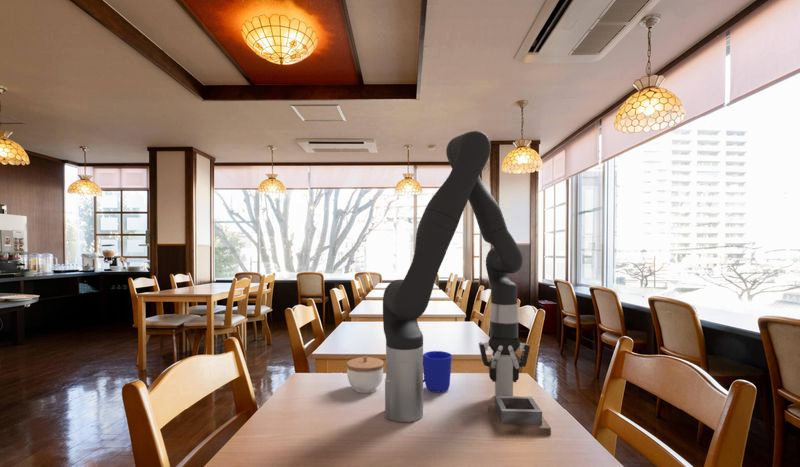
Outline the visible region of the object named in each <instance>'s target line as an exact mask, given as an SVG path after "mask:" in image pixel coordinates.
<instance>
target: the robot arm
mask: <svg viewBox="0 0 800 467" xmlns="http://www.w3.org/2000/svg"><path fill="white" fill-rule="evenodd" d="M491 148H492V145H491V141H490V139H489V137H488V135H487V134H486V133H485V132H483V131H481V130H471V131H467V132H465V133H462V134H460V135H457V136H455V137H453V138H452V139H450V141H449V142H448V143H447V146H446V149H445V150H446V154H445V155H446V158H447V161H448V163H449V165H450V167H451V171H450V173H449V175H448V176H447V178H446V179H445V181H444V182H443V184H442V185H441V186H440V187H439V188H438V189H437V191H436V192H435V193H434V195H433V196H432V197H431V198H430V200H428V201H429V202H428V203H427V205H426V207H425V209H424V210H423V214H422V216H421V218H420V220H419V223H418V226H417V228H416V234H415V246H414V254H413V256H412V257H413V258H412V261H411V263H410V266H409V268H408V270H407V273H406V274H405V276H404V278H403V279H394V280H393V281H391V282H390V283H388V285H387V286H386V287H385V289H384V292H383V296H382V321H383V334H384V336H385V379H384V394H385V395H384V419H385V420H392V421H395V422H399V423H412V422H415V421H419V420H420V419H421V418H423V416H424V382H423V380H424V369H423V355H424V335H423V333H422V331H421V328H420V325H419V322H418V319H420V317H421V316H423V315H424V313H425V311H426V310H427V308H428V306H429V302H430V299H431V296H432V292H433V290H434V286H435V284H436V280H437V276H438V273H439V270H440V267H441V265H442V263H443V262H444V259H445V256H446V254H447V252H448V249H449V247H450V244H451V242H452V240H453V237H454V235H455V233H456V230H457V229H458V225H459V223H460V220H461V217H462V215H463V213H464V210H465V208H466V206H467V203H468V202H469V203H470V206H471V208H472V211H473V214H474V217H475V219H476V222H477V225H478V229H479V231H480V234H481V237H482V239H483V240H484V241H485V242H486V243H487V244H489V245H491V246H492V248H490V249H489V251H488V252H487V255H486V257H485V268H486V272H487V278H488V281H489V286H490V289H491V290H490V309H489V310H490V311H489V333H490V334H489V339H488V342H481V341H480V342H479V343H478V347H479V352H480V355H481V356H480V357H481V360H482V363H483V365H484V367H488V368H489V372H488V373H489V374H488V376H489V379H490V380H491V381H492V383H495V365H496V362H497V361H498V359H499V356H500V355H511V358H512V361H513V383H517V382H518V381H519V379H520V377H519V376H520V371H519V370H520V368H523V367H524V368H525V367H526V366H527V362H528V358H529V354H530V350H531V349H530V348H531V346H530V345H529V344H528V343H527V342H520V341H519V309H518V287H517V284H516V283H515V282H513V281H512V280H510V277H509V274H515V273H518V272H519V271H520V270H521V269H522V267H523V262H524V261H523V259H524V258H523V255H522V251H521V248H519V246H518V243H517V242H516V241H515V239H514V238H513V235H512V234H511V233H510V231H509V230H508V227H507V224H506V221H505V219H504V218H505V217H504V215H503V212H502V210H501V206H500V205H499V204H498V202H497V201H496V199H495V198H494V196H493V195H492V194H491V192H490V191H489V190H488V188H487V187H486V186H485V184H484V182H483V181H482V179H481V176H480V175H481V173H482V172H483V170H484V168H485V166H486V164H487V162H488V161H489V159H490V155H491V151H492V149H491ZM488 348H490V349H491V350H492V354H491V356H490V360H489V359H488V356H487V351H488V350H489V349H488ZM518 349H520V351H521V353H520V358H519V360H518V358H517V356H516V352H517V351H518ZM496 356H497V357H496Z"/></svg>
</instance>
